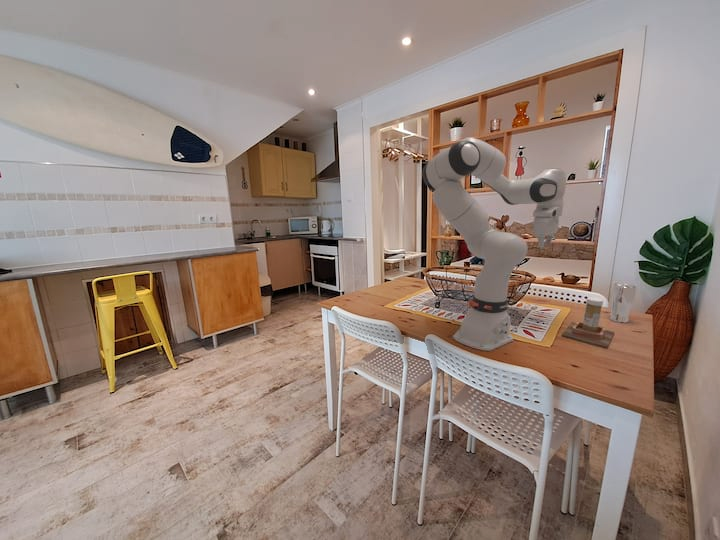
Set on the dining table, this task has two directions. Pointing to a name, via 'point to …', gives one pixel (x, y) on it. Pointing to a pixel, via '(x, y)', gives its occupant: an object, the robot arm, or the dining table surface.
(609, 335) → the tube stand
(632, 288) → the beer glass
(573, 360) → the dining table surface
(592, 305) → the sprinkles bottle
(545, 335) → the dining table surface
